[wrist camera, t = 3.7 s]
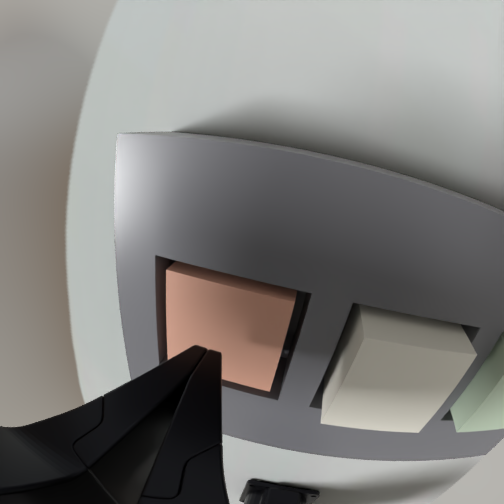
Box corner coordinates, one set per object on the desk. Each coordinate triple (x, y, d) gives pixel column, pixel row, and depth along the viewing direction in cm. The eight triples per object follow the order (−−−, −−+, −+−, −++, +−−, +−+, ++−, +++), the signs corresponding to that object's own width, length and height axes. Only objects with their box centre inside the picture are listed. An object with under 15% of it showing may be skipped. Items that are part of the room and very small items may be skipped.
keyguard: (473, 414, 12) (485, 454, 9) (164, 359, 16) (135, 401, 12) (569, 244, 8) (607, 272, 5) (171, 131, 11) (117, 133, 8)
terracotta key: (280, 349, 12) (269, 391, 10) (192, 325, 13) (168, 361, 10) (301, 266, 11) (294, 302, 8) (197, 242, 11) (166, 269, 9)
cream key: (409, 388, 10) (418, 432, 8) (324, 375, 11) (320, 423, 9) (453, 312, 9) (477, 354, 6) (356, 291, 9) (364, 337, 7)
